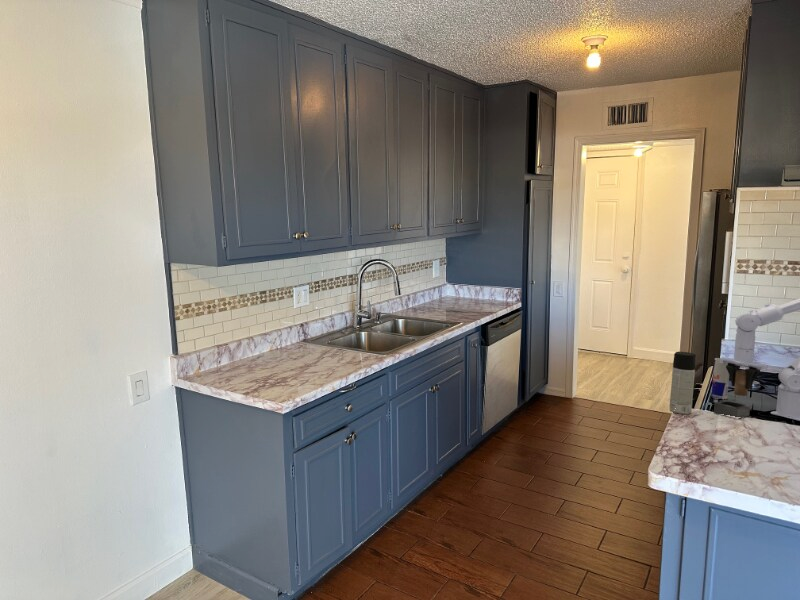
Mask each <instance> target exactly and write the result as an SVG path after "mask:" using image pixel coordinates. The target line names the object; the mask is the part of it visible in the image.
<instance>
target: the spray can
mask: <svg viewBox="0 0 800 600" xmlns="http://www.w3.org/2000/svg"><path fill="white" fill-rule="evenodd" d="M696 357H697V356H696V354H695V353H692V352H688V351H676V352H675V353H674V354H673V363H672V373H671V385H670V386H671V387H670V388H671V389H670V395H669V396H670V397H669V398H670V399H669V411H670V412H672V413H675V414H680V415H689V414H691V413H692V409H693V395H694V383H695V375H696ZM675 408H676V409H675ZM674 410H675V411H674Z"/></svg>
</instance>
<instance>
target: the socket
mask: <svg viewBox="0 0 800 600" xmlns="http://www.w3.org/2000/svg"><path fill="white" fill-rule="evenodd" d="M750 410H751V406H750V405H749V404H746V403H740V402H736V401H732V400H727V399H725V400H719V401H717V402H714V407H713V414H716V413H718V414H717V415H719V414H724V415H730V416H735V417H744V418H746V417H750Z"/></svg>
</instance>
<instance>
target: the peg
mask: <svg viewBox="0 0 800 600" xmlns="http://www.w3.org/2000/svg"><path fill="white" fill-rule="evenodd" d="M748 392H749V389H746V371H745V370H742V369H741V370H740V369H739V370H736V374H735V386H733V395H735V396H741V397H747V396H748V395H749V394H748Z"/></svg>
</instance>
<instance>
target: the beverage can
mask: <svg viewBox="0 0 800 600" xmlns="http://www.w3.org/2000/svg"><path fill="white" fill-rule="evenodd" d="M720 358H721V357H720ZM720 358H719V357H715V358H714V362H713V371H712V373H713V374H712V386H711V397H712V398H713V399H714V398H716V399H725V400H727V399H728V396H729V395H728V393H729V382H730V381H729V380H730V375H729V373H728V371H727V369H726V366H727V365H728V364H726V363H720ZM716 399H715V400H716Z"/></svg>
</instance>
